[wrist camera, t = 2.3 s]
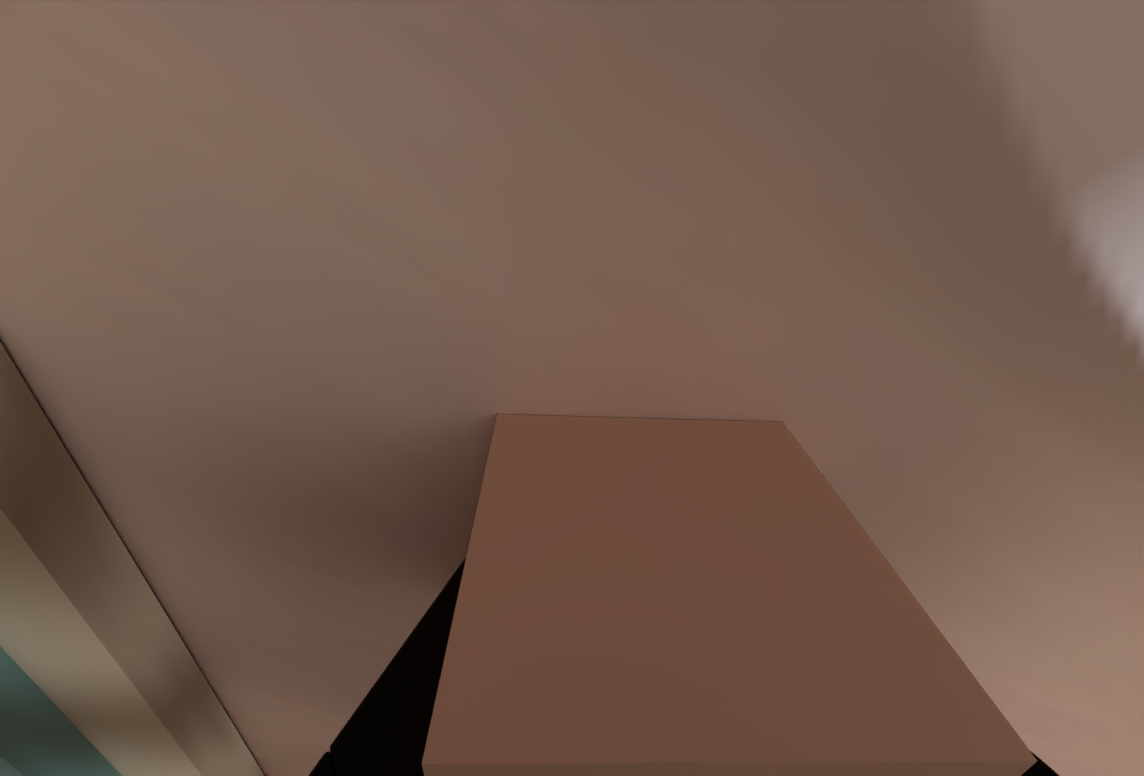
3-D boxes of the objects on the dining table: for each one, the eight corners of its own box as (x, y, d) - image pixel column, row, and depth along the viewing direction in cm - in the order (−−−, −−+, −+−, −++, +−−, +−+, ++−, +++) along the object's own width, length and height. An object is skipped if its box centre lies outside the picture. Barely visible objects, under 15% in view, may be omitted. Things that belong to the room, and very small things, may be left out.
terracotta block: (723, 604, 11) (836, 935, 6) (504, 601, 10) (464, 944, 6) (782, 422, 8) (1036, 761, 4) (497, 414, 8) (422, 765, 4)
